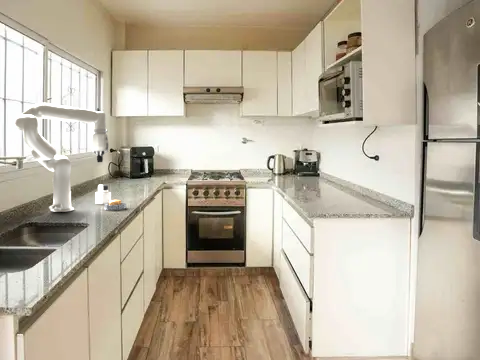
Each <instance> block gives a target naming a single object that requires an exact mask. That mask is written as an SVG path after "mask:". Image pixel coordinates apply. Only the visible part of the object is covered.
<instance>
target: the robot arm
mask: <svg viewBox="0 0 480 360" xmlns="http://www.w3.org/2000/svg"><path fill="white" fill-rule="evenodd" d="M41 119H47V120H55V121H60V122H61V121H62V122H80V123H81V124H92V134H91V138H90V139H91V140H90V149H91V153H93V154H95V156H96V161H97V163H103V160H104V158H103V157H104V155H105V154H107V153H109V149H110V143H109V137H108V129H107V127H106V113H105V112H104V111H96V110H94V109H86V108H79V107H72V106H68V105H59V104H54V103H48V102H42V103H35V104H34V105H31V106H30V107H29V108H27V110H25V111H24V112H22V113H20V114H19V115H18V116H17V117H16V118H15V119H14V120H15V121H14V125H15V127H16V129H18V130H19V131H22V135H23V140H24V142H25V144H27V145H28V147H29V148H31V155H32V157H33V158H34V159H35V161H37V162H38V163H39V164H41V165H42V166H43V167H44V168H46V169H47V170H48V171H50V172H53V175H52V196H53V198H52V199H53V200H52V201H53V203H52V205H50V206H48V209H49V210H50V211H51V212H54V213H61V212H62V213H64V212H65V213H66V212H72V211H74V210H75V208H74V207H73V206H72V191H71V172H72V162H71V160H70V158H69V157H67V156H65V155H57V151H56V148H55V147H54V146H53V145H52V144H51V143H50V142H49V141H48V140H46V139H45V138H44V136H42V135H41V133H40V130H39V129H40V128H39V127H40V123H39V121H40V120H41Z"/></svg>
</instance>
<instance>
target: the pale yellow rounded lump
mask: <svg viewBox="0 0 480 360" xmlns="http://www.w3.org/2000/svg"><path fill="white" fill-rule="evenodd" d="M121 202H122V200H121V199H111V200H110V201H109V205H120V204H121Z"/></svg>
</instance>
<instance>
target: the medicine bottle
mask: <svg viewBox="0 0 480 360" xmlns="http://www.w3.org/2000/svg"><path fill="white" fill-rule="evenodd" d="M110 200H112V192H111V191H109V185H108V184H98V185H97V191H96V192H95V204H98V205H104V204H105V203H109V201H110Z"/></svg>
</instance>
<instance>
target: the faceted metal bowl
mask: <svg viewBox="0 0 480 360" xmlns="http://www.w3.org/2000/svg"><path fill="white" fill-rule="evenodd" d="M103 207H104V208H103V209H104V211H124V210H127V203H126V202H122V201H121V204H120V205H109V203H105V204H103Z"/></svg>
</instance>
